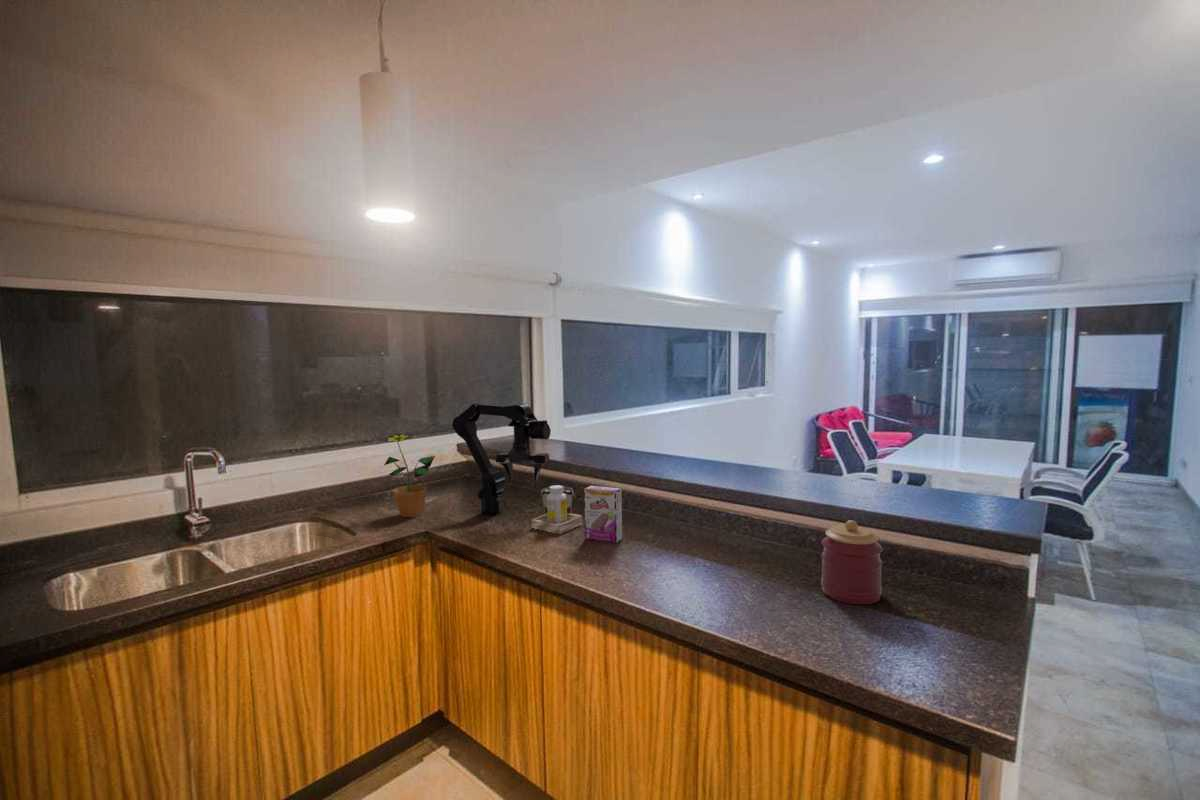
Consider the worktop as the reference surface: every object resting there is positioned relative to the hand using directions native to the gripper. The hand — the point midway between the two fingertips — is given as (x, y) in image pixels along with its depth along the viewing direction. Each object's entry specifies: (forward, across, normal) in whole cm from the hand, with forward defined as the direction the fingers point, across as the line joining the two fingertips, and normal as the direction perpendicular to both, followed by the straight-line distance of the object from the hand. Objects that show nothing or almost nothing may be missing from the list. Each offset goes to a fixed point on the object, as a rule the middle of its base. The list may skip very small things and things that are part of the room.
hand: (523, 481), depth 194 cm
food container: (+13, +12, +4) cm, 18 cm away
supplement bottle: (+12, +15, -9) cm, 22 cm away
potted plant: (+13, -43, -5) cm, 45 cm away
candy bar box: (+13, +34, -20) cm, 42 cm away
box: (+13, +16, -10) cm, 22 cm away
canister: (+13, +100, -48) cm, 112 cm away
